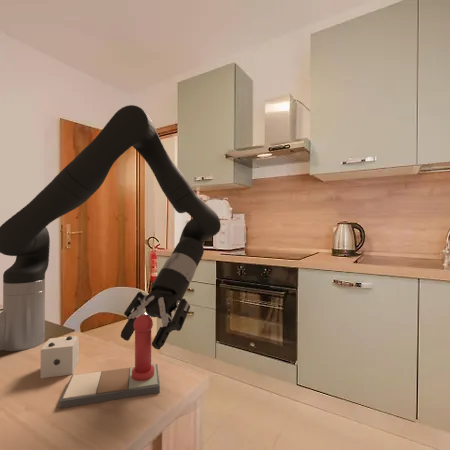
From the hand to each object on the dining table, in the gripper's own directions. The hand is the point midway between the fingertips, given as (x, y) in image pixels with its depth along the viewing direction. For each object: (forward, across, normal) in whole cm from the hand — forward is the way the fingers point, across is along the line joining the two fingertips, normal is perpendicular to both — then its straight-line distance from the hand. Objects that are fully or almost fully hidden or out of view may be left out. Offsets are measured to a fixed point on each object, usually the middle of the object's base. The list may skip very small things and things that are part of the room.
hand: (139, 343), depth 57 cm
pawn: (+4, 0, +6) cm, 7 cm away
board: (+8, -4, +4) cm, 10 cm away
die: (+9, -20, +3) cm, 22 cm away
